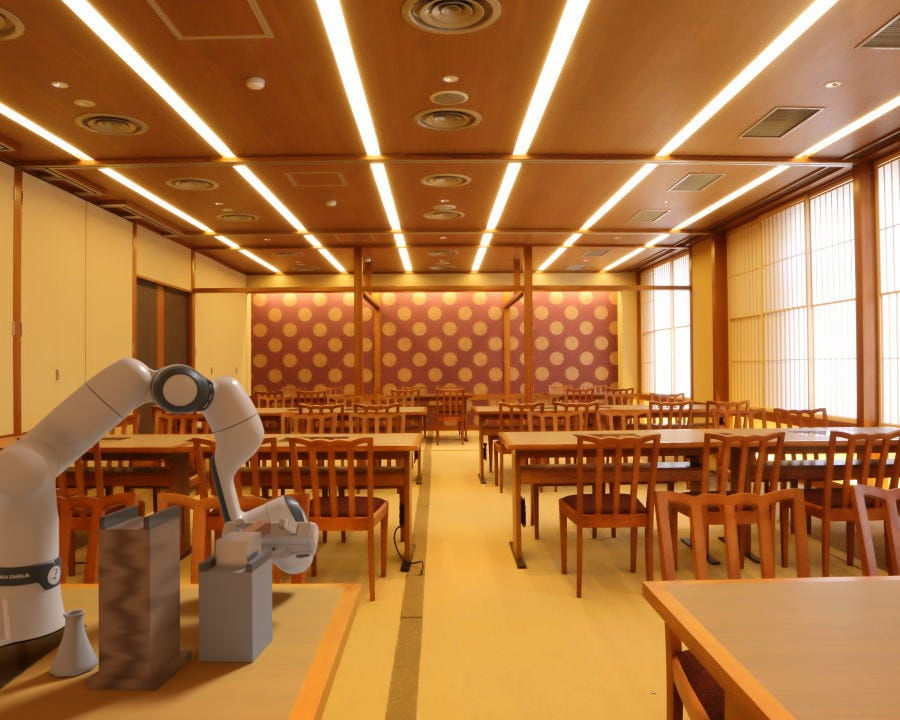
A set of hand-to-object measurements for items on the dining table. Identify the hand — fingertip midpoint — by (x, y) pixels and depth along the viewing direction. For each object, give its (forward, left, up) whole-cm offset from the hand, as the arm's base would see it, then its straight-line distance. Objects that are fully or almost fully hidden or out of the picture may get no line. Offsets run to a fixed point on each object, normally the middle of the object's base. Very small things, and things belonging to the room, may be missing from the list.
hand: (259, 522), depth 134 cm
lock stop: (0, -6, -5) cm, 8 cm away
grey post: (0, -12, -21) cm, 24 cm away
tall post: (-13, -22, -21) cm, 33 cm away
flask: (-26, -21, -21) cm, 40 cm away
